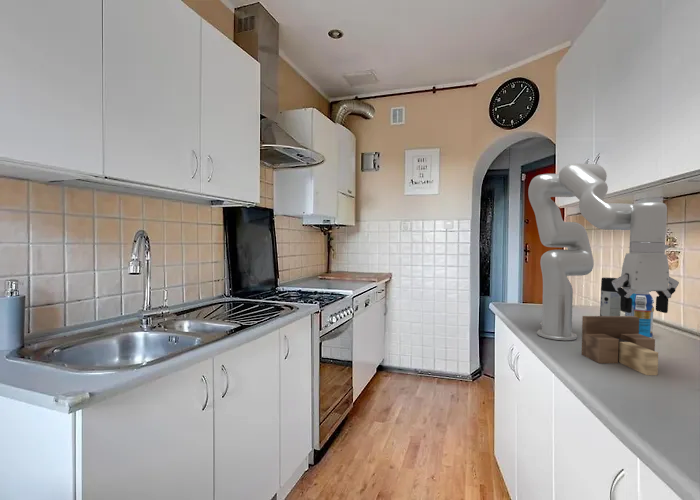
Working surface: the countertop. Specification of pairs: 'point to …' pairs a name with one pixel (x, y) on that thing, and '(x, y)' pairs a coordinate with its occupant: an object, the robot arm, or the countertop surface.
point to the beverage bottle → (643, 311)
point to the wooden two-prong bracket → (610, 336)
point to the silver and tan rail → (638, 357)
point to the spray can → (609, 299)
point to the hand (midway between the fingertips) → (643, 311)
